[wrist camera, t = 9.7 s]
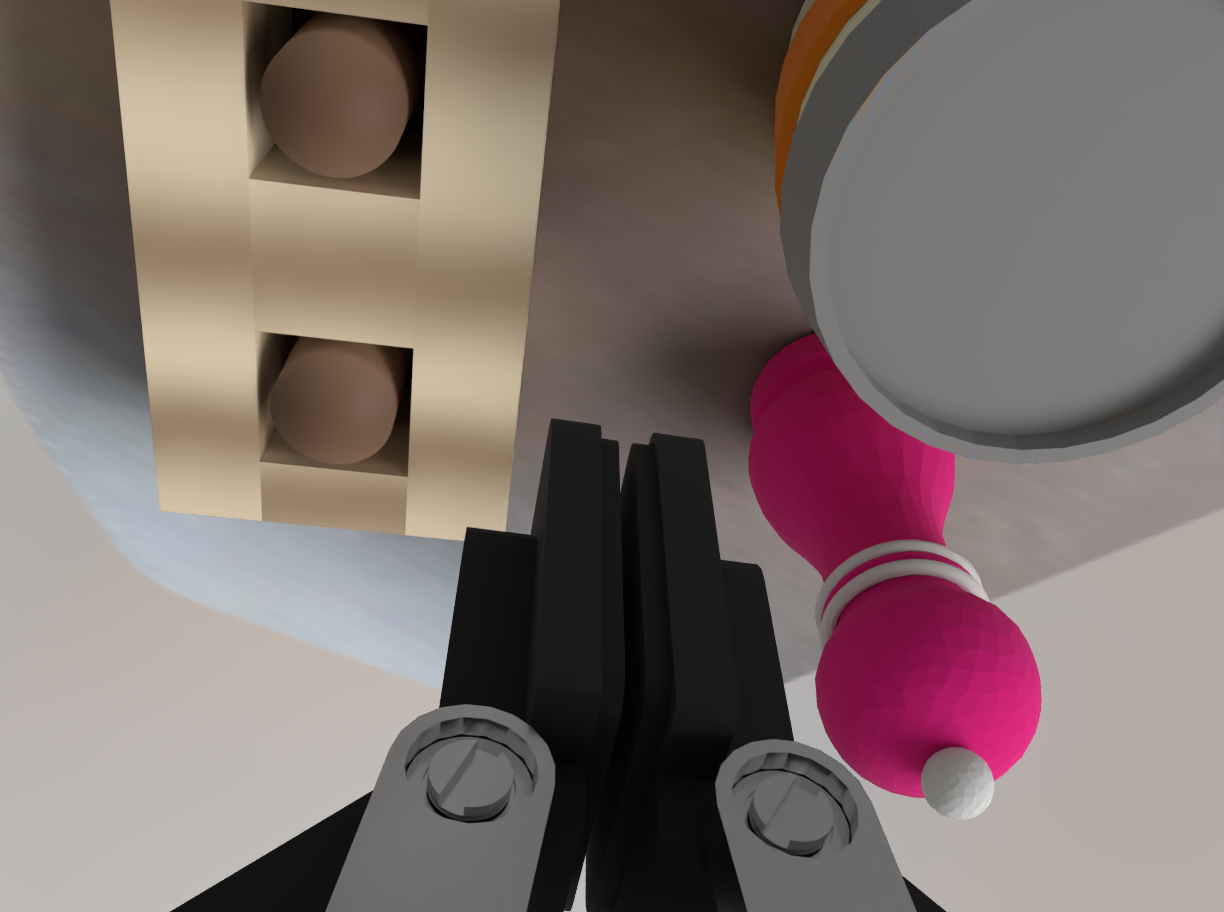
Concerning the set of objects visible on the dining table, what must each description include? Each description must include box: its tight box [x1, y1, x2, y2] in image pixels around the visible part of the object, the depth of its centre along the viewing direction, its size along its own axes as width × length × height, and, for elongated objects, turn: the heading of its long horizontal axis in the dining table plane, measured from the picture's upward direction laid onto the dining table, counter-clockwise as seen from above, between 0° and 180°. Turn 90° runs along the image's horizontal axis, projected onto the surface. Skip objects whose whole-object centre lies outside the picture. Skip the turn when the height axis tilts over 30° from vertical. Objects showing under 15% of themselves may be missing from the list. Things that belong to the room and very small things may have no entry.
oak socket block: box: [110, 0, 561, 541], centre depth 38 cm, size 20×12×6 cm, turn 172°
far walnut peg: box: [270, 336, 413, 464], centre depth 40 cm, size 4×4×6 cm
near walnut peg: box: [260, 11, 427, 178], centre depth 35 cm, size 4×4×6 cm
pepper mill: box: [749, 333, 1041, 820], centre depth 37 cm, size 7×7×20 cm
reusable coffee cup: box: [775, 0, 1224, 464], centre depth 32 cm, size 13×12×15 cm
